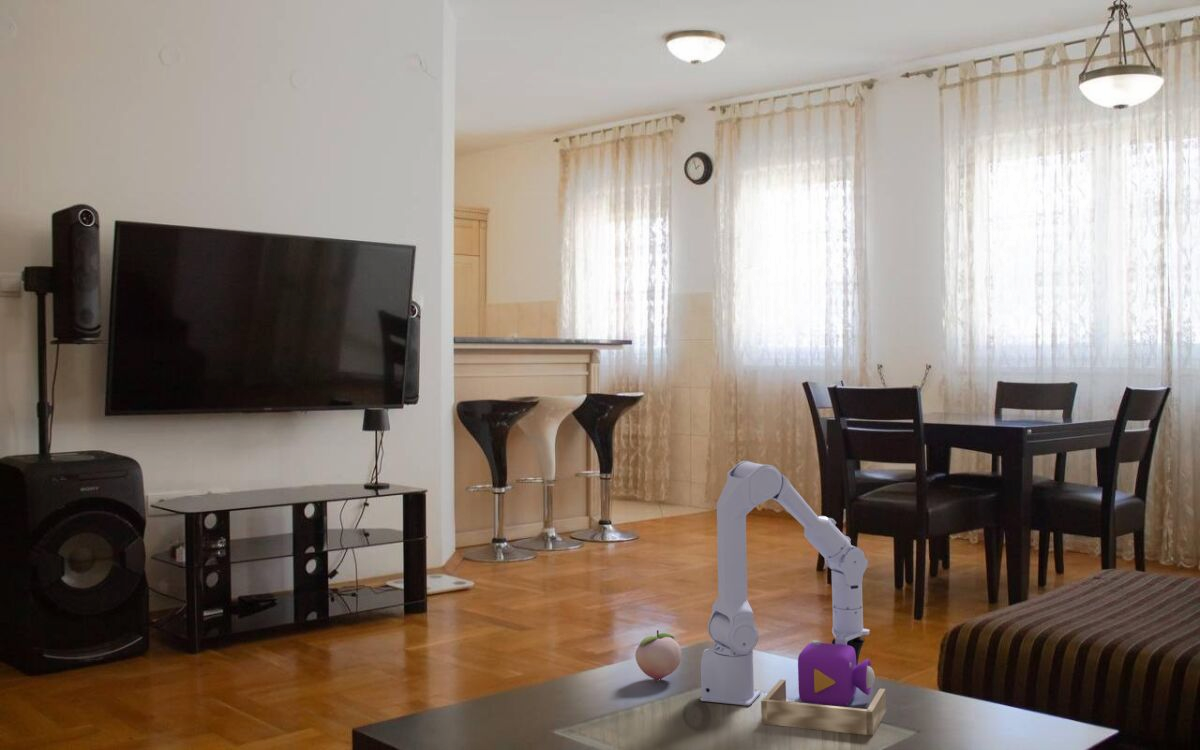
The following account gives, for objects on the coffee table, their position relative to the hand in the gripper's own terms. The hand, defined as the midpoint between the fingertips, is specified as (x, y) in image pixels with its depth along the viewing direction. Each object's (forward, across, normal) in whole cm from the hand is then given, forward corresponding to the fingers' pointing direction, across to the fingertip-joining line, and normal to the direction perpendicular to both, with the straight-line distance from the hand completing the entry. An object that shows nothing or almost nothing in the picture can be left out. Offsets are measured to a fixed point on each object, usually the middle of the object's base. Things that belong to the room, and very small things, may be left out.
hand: (849, 676), depth 215 cm
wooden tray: (+1, -22, 0) cm, 22 cm away
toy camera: (+1, -12, 0) cm, 12 cm away
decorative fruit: (+1, -11, +35) cm, 37 cm away
